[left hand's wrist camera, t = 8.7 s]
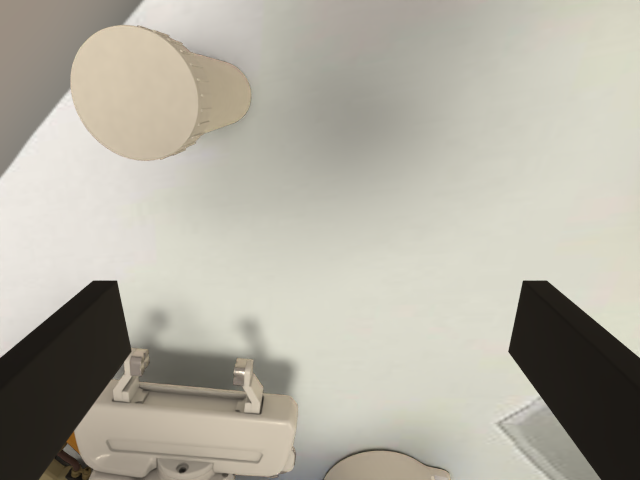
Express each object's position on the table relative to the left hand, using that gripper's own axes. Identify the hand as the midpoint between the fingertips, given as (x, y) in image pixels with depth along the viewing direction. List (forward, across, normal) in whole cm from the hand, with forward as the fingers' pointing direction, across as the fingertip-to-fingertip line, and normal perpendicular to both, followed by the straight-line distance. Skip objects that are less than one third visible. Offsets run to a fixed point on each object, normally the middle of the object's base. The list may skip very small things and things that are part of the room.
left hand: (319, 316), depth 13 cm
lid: (+9, +9, -7) cm, 14 cm away
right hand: (+17, +11, +15) cm, 26 cm away
